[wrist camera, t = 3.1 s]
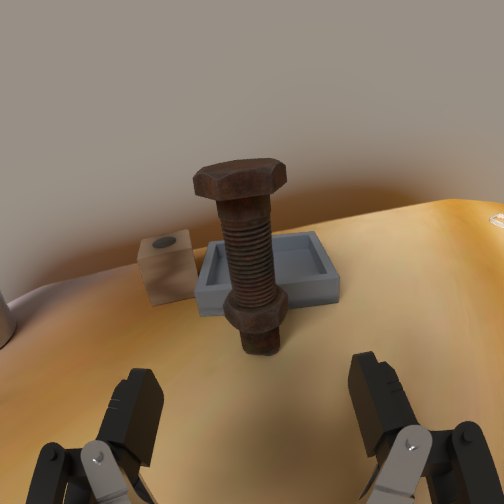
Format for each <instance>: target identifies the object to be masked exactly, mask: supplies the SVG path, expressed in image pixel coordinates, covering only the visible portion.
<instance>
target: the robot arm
mask: <svg viewBox="0 0 504 504" xmlns="http://www.w3.org/2000/svg"><path fill="white" fill-rule="evenodd" d="M15 328H16V320H15V318H14V317H13V315H12V313H11V311H10V309H9V307H8V305H7V303H6V301H5V299H4V297H3V295H2V293H1V291H0V348H1V347H2V346H3V345H4V344H5V343H6V342H7V341H8V340H9V339H10V337H11V336H12V334H13V333H14V331H15ZM348 388H349V393H350V396H351V399H352V403H353V406H354V410H355V413H356V417H357V420H358V424H359V427H360V431H361V434H362V438H363V442H364V446H365V449H366V453H367V457H372V456H375V455H376V458H377V461H378V463H377V464H376V466H375V468H374V470H373V472H372V474H371V476H370V478H369V480H368V482H367V483H366V485H365V487H364V489H363V490H362V492H361V494H360V496H359V497H358V499H357V500H356V502H355V503H354V504H413V503H414V499H415V497H414V491H415V488H416V486H417V484H418V481H419V479H420V477H425V476H426V480H427V484H428V488H429V493H430V497H431V502H432V504H504V495H503V491H502V487H501V484H500V480H499V477H498V474H497V471H496V468H495V465H494V462H493V459H492V456H491V453H490V450H489V448H488V445H487V442H486V440H485V437H484V435H483V432H482V430H481V428H480V427H479V425H477V424H476V423H474V422H471V421H465V422H462V423H460V424H459V425H458V426H457V427H456V428H455V429H454V430H443V431H430V430H427V429H426V428H425V427H423V426H421V425H420V424H419V423H418V422H417V420H416V417H415V415H414V413H413V410H412V408H411V406H410V403H409V401H408V399H407V396H406V394H405V392H404V390H403V387H402V385H401V383H400V382H399V379H398V376H397V374H396V372H395V370H394V369H393V368H392V367H391V366H390V365H389V364H388V363H387V362H386V361H384V362H380V363H378V362H377V359H376V357H375V355H374V353H373V352H372V351H369V352H364V353H359V354H354V355H353V357H352V361H351V366H350V371H349V376H348ZM163 404H164V394H163V391H162V389H161V387H160V385H159V383H158V381H157V379H156V378H155V376H154V374H153V372H152V370H151V369H141V368H133V369H131V371H130V373H129V376H128V379H127V380H122V381H121V382H120V383H119V384H118V385H117V386H116V388H115V389H114V392H113V395H112V397H111V400H110V402H109V405H108V408H107V410H106V413H105V416H104V419H103V421H102V424H101V427H100V430H99V433H98V436H97V438H96V440H94V441H90V442H88V443H87V444H86V445H85V446H84V447H83V448H78V449H64V448H63V447H62V446H61V445H59V444H58V443H55V442H50V443H47V444H46V445H44V446H43V448H42V449H41V451H40V454H39V457H38V460H37V464H36V467H35V470H34V474H33V477H32V481H31V484H30V488H29V492H28V496H27V500H26V504H63V498H64V494H65V489H66V485H67V483H68V485H67V490H66V494H65V499H64V504H158V503H157V501H156V500H155V498H154V496H153V495H152V493H151V491H150V490H149V488H148V486H147V485H146V483H145V481H144V479H143V478H142V476H141V474H140V473H139V470H140V466H145V467H150V463H151V458H152V453H153V448H154V444H155V439H156V434H157V430H158V425H159V421H160V417H161V412H162V408H163Z"/></svg>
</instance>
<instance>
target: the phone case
mask: <svg viewBox="0 0 504 504" xmlns="http://www.w3.org/2000/svg"><path fill="white" fill-rule="evenodd" d="M496 216H497V217H501V218H503V219H504V214H501V213H498V214H496V215H495V216H493V217H491V218H490V222H491V223H493V224H495V225H497V226H500V227H502V228H504V223H501V222H499V221H497V220H494V219H493V218H494V217H496Z"/></svg>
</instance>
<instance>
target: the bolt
mask: <svg viewBox="0 0 504 504" xmlns="http://www.w3.org/2000/svg"><path fill="white" fill-rule="evenodd" d="M286 182H287V176H286V166H285V165H284V164H283V163H282V162H280V161H279V160H276V159H272V158H259V159H243V160H234V161H228V162H223V163H218V164H214V165H210V166H206V167H203V168H201V169H200V170H199V171H198V172H197V173H196V174H195V176H194V177H193V183H194V189H195V195H197V196H201V197H205V198H209V199H213V200H216V204H217V211H218V216H219V218H220V220H221V223H222V224H221V227H222V231H223V237H224V238H223V239H224V242H225V243H224V246H225V251H226V256H227V257H226V258H227V264H228V268H229V276H230V280H231V285H232V290H231V291H230V292H229V294H228V295H227V297H226V299H225V301H224V303H223V310H224V314H225V317H226V319H227V320H228V321H229V322H230V323H231V324H232V325H233V326H234V327H235V328H236V329H238V330H239V331H240V336H241V342H242V347H243V350H244V351H245V352H246V353H248V354H253V355H264V356H270V355H273V354H274V353H275V352H276V351H277V350H278V349H277V348H278V347H279V346H280V337H279V325H280V324H281V323H282V322H283V320H284V318H285V315H286V313H287V309H288V306H289V305H288V294H287V293H286V292H285V291H284V290H283V289H282V288H281V287H279V286H278V285H277V284H276V282H275V281H276V279H275V270H274V257H273V249H272V239H271V238H272V235H271V233H272V232H271V225H270V224H271V221H270V212H271V204H270V194H273V193H274V192H275V191H277V190H278V189H279V188H280V187H282V186H283V185H284V184H285V183H286Z"/></svg>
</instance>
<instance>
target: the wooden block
mask: <svg viewBox="0 0 504 504" xmlns="http://www.w3.org/2000/svg"><path fill="white" fill-rule="evenodd" d="M137 262H138V265H139V269H140V272H141V275H142V278H143V281H144V284H145V287H146V290H147V293H148V296H149V299H150V302H151V305H152V306H156V305H161V304H165V303H170V302H175V301H179V300H184V299H189V298H193V297H195V293H194V291H195V288H196V284H197V281H198V278H199V277H198V272H197V268H196V263H195V259H194V254H193V249H192V245H191V240H190V235H189V230H188V229H185V230H181V231H176V232H172V233H168V234H163V235H159V236H154V237H150V238H145V239H142V241H141V244H140V249H139V252H138V256H137Z"/></svg>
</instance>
